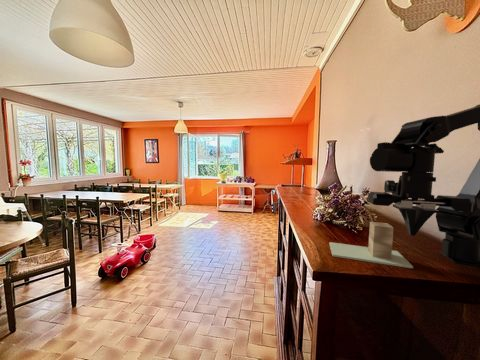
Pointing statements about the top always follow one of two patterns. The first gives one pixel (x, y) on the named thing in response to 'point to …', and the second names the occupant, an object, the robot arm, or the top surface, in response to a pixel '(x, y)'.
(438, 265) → the top surface
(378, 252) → the maple block
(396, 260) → the sage mat
